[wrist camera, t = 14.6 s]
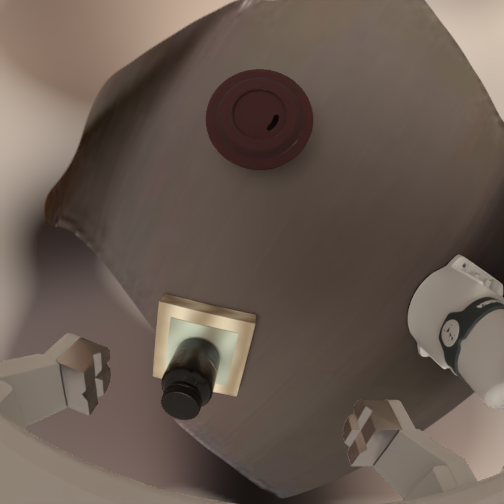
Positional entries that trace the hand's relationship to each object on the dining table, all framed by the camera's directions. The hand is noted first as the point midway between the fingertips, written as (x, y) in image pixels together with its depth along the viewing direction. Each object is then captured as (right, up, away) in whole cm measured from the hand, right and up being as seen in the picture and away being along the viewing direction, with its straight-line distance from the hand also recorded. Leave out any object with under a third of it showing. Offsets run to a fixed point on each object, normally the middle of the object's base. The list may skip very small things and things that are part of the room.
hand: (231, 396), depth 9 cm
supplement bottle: (-7, -11, +35) cm, 37 cm away
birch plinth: (-7, -10, +38) cm, 40 cm away
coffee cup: (+2, +20, +30) cm, 36 cm away
